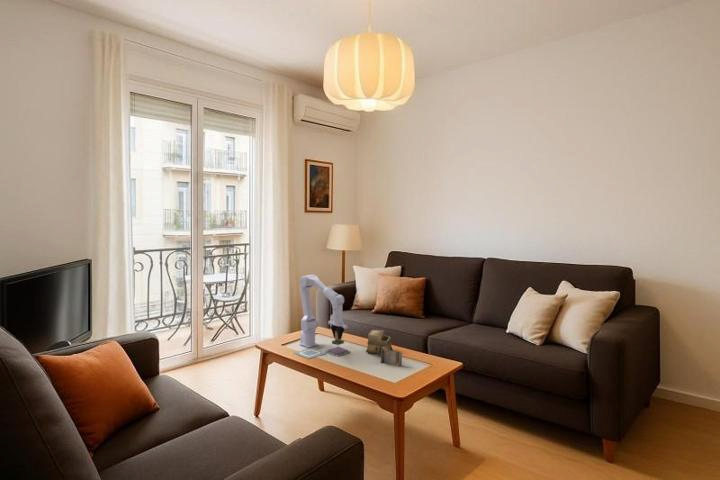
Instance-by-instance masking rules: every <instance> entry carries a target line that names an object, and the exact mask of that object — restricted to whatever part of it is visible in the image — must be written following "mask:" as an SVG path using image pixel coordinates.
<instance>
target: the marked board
mask: <svg viewBox="0 0 720 480" xmlns="http://www.w3.org/2000/svg"><path fill="white" fill-rule="evenodd" d="M293 354H294V355H297V356H300V357H302V358H305V359H307V360H310V359H314V358H316V357H319V356H324V355H326V354H327V353H325V351H321V350H318V349H316V348H312V347H308V348H306V349H303V350H299V351H295V352H294V353H293Z"/></svg>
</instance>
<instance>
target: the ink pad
mask: <svg viewBox="0 0 720 480" xmlns="http://www.w3.org/2000/svg"><path fill="white" fill-rule="evenodd" d="M351 352H352V351H351V350H349V349H346V348H344V347H340V346H336V347H331V348H329V349H326V350H324V353H326V354H328V355H332V356H333V357H340V356H343V355H347V354H350V353H351Z"/></svg>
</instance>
